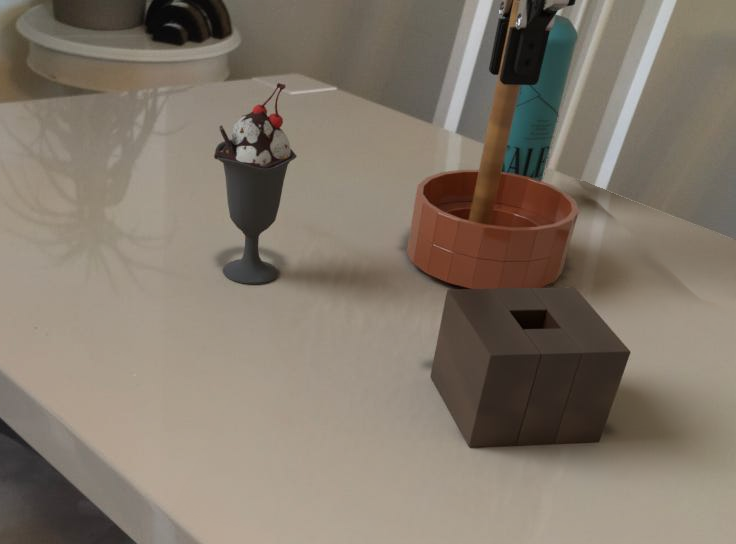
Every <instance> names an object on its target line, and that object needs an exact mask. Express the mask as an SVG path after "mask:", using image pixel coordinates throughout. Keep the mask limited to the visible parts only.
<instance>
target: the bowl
mask: <svg viewBox="0 0 736 544" xmlns="http://www.w3.org/2000/svg"><path fill="white" fill-rule="evenodd" d="M478 172H479V169H455V170H449V171H441V172H438V173H436V174H435V173H434V174H432V175H430V176H427V177H425V178H424V179H423V180H422V181H420V182H419V183H418V184H417V186H416V193H415V198H414V204H413V211H412V217H411V224H410V230H409V236H408V243H407V250H406V255H407V256H408V258H409V259H410V261H411V262H412V264H413V265H414V266H416V267H417V268H418V269H420V270H421V271H422V272H423V273H425V274H426V275H429V276H431V277H434V278H435V279H438V280H441V281H443V282H445V283H448V284H451V285H454V286H459V287H463V288H466V289H497V288H545V287H546V286H548V285H550V284H552V283H554V282H556V281H557V280H558V278H559V277H560V275H562V272H563V271H564V266H565V262H566V259H567V255H568V252H569V248H570V245H571V241H572V237H573V234H574V230H575V226H576V223H577V219H578V215H579V208H578V203H577V201H576V200H575V199H574V198H573V197H572V196H571V195H570V194H569V193H567V192H566V191H564V190H562V189H561V188H558V187H557V186H555V185H554V184H551V183H548V182H546V181H540V180H537V179H534V178H530V177H526V176H522V175H517V174H513V173H507V172H501V177H500V182H499V186H498V191H497V195H496V200H495V204H494V209H493V213H492V218H491V222H490V225H486V224H482V223H477V222H473V221H469V216H470V211H471V206H472V201H473V196H474V191H475V186H476V181H477V176H478Z"/></svg>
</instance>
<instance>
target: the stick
mask: <svg viewBox="0 0 736 544" xmlns="http://www.w3.org/2000/svg"><path fill="white" fill-rule="evenodd" d="M532 2H533V0H532ZM519 3H520V0H513V5H512V10H511V15H510V20H509V25H508V29H507V34H506V39H505V44H504V49H503V54H502V59H501V64H500V69H499V74H498V75H497V80H496V84H495V89H494V94H493V99H492V103H491V109H490V114H489V118H488V122H487V123H488V124H487V128H486V133H485V137H484V142H483V147H482V153H481V157H480V162H479V166H478V167H479V168H478V170H479V172H478V176H477V181H476V186H475V191H474V196H473V201H472V206H471V211H470V216H469V221H473V222H477V223H482V224H486V225H490V222H491V218H492V213H493V209H494V204H495V200H496V195H497V191H498V186H499V182H500V177H501V172H502V168H503V163H504V159H505V154H506V150H507V145H508V141H509V136H510V131H511V127H512V122H513V118H514V113H515V109H516V104H517V100H518V95H519V91H520V86H521V85H505V84H503V83H502V82H501V81H500V74H501V69H502V64H503V59H504V54H505V49H506V45H507V40H508V35H509V30H510V27H516V18H517V13H518V8H519Z"/></svg>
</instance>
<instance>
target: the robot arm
mask: <svg viewBox="0 0 736 544" xmlns="http://www.w3.org/2000/svg"><path fill="white" fill-rule="evenodd" d="M568 3H569V0H533V2H532V0H520V3H519V8H518V13H517V18H516V27H510V30H509V35H508V40H507V45H506V49H505V54H504V59H503V64H502V69H501V74H500V81H501V82H502V83H503V84H505V85H535V84H536V83H537V82H538V80H539V76H540V72H541V67H542V63H543V59H544V54H545V50H546V46H547V41H548V37H549V33H550V30H551V29H552V28H553V25H554V21H555V17H556V15H557V13H558V12H559V11H560V10H562V9H564V8H566V7H568V6H567V5H568ZM512 5H513V0H500V2H499V7H498V15H499V17H500V18H498V21H497V26H496V29H495V30H496V31H495V36H494V41H493V46H492V50H491V56H490V60H489V66H488V71H489V73H490V74H491V75H493V76H498V74H499V69H500V64H501V59H502V54H503V49H504V44H505V39H506V34H507V29H508V25H509V20H510V15H511V10H512Z"/></svg>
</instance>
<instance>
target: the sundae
mask: <svg viewBox="0 0 736 544" xmlns="http://www.w3.org/2000/svg"><path fill="white" fill-rule="evenodd" d="M285 89H286V84H284V83H280V82H278V83H276V87H275V89H274V90H273V93H272V94H271V95H270V96H269V97H268V99H266V100H265V102H263V104H256V105H254V107H252V111H251V112H250V113H246V114H242V115H241V117H240V118H239V119H238V121H237V122H236V123H235V124H234V125H233V128H232V133H231V138H229V136H228V135H227V132H226V131H225V129H224V126H223V125H222V124H221V125H220V126H219V131H220V134H221V136H222V138H223V140H224V141H222V142H220V143H218V144H217V146H216V147H215V151H214V155H213V158H214V160H218V161H220V162H221V163H222V164H223V171H224V177H225V185H226V195H227V196H226V199H227V207H228V213H229V218H230V219H231V221H232V223H233V224H234V225H235V227H236V228H237V229H238V230H240V231H241V233H243V235H244V249H243V253H242V257H241V258H240V259H235V260H232V261H229V262H227V263H226V264H224V265H223V268H222V274H223V275H224V276H225V278H227V279H229V280H231V281H233V282H236V283H239V284H244V285H263V284H266V283H267V284H268V283H270V282H273V280H275V279H276V278H277V277H278V275H279V271H278V269H277V268H276V266H275V265H273V264H272V263H270V262H268V261H263V260H262V259H261V257H260V252H259V239H260V235H261V234H262V233H263V232H265V231H266V230H268V229H269V228H270V227H271V226H272V225H273V224H274V223H275V221H276V219H277V216H278V211H279V208H280V204H281V198H282V193H283V188H284V182H285V178H286V175H287V170H288V166H289V164H290V163H291V162H292V161H293V160H295V159H296V158H297V157H298V156H297V154H296V153H295V151H293V150H292V148H291V144H290V139H289V138H288V136H287V134H286V133H285V132H284V130H283V129H282V128H281V127H282V125H283V124H284V119H283V117H282V116H281V115H280V114H279V111H278V101H279V96H280V94H281V92H282V90H285ZM277 90H279V91H278V93H277V95H276V98H275V102H274V112H273V113H271V114H269V116H268V109H267V108H266V105H267V103H268V102H270V101H271V99H272V98H273V97H274V95H275V93H276V92H277Z"/></svg>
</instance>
